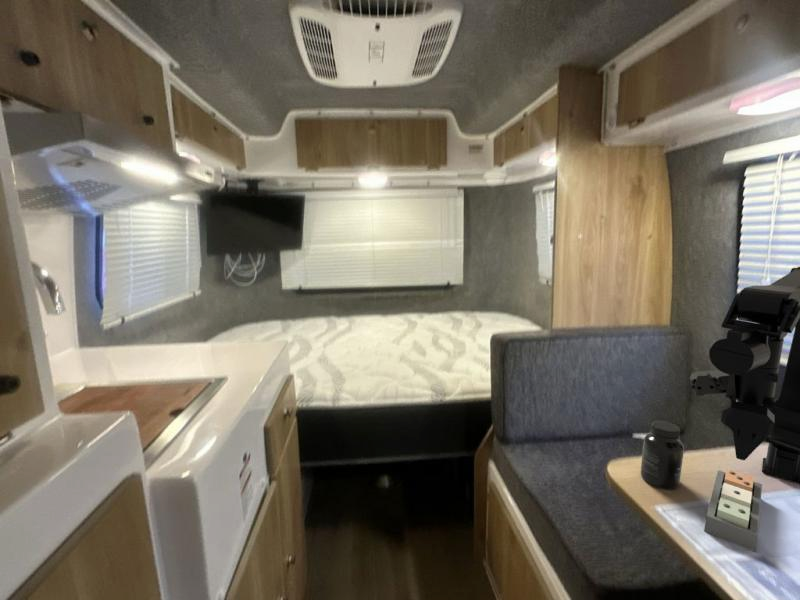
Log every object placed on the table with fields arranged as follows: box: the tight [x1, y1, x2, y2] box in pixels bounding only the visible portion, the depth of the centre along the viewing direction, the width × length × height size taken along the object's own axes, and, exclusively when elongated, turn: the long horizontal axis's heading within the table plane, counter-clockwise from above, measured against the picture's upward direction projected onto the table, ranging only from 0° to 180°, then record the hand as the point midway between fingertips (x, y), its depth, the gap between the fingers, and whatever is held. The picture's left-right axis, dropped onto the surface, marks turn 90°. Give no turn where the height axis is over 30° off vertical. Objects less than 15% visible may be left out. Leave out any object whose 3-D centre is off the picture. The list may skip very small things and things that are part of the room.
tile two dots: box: [717, 498, 750, 529], centre depth 68 cm, size 4×4×3 cm
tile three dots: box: [724, 468, 755, 492], centre depth 76 cm, size 4×4×3 cm
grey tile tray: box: [704, 470, 763, 552], centre depth 73 cm, size 17×7×3 cm, turn 137°
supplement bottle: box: [640, 420, 685, 490], centre depth 82 cm, size 7×7×12 cm
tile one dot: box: [721, 483, 752, 508], centre depth 72 cm, size 4×4×3 cm
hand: (742, 448), depth 71 cm, fingers open, 9 cm apart
